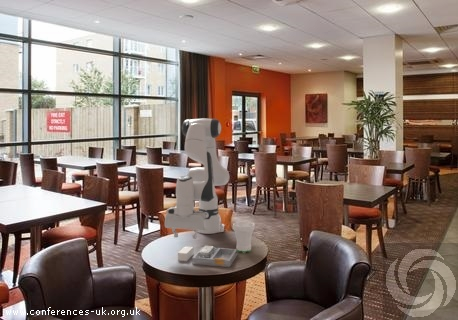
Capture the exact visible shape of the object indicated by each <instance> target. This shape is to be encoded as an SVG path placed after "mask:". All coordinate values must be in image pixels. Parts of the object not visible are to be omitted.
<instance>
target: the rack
mask: <svg viewBox="0 0 458 320" xmlns="http://www.w3.org/2000/svg"><path fill="white" fill-rule="evenodd" d="M237 256H238V252H237V249H236V248H226V247H225V248H224V247H215V245H214V246H213V245H204V246H201V247H200V249H199V250H198V251H197V252H196V253H195V254H193V255H192V256H191V264H192V265H199V266H200V265H201V266H212V267H225V268H230V267H231V266H232V265H233V262H234V261H235V260H236V258H237Z"/></svg>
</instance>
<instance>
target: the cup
mask: <svg viewBox="0 0 458 320" xmlns="http://www.w3.org/2000/svg"><path fill="white" fill-rule="evenodd" d="M255 225H256V224H255V223H254V222H252V221H236V222H235V221H234V222H233V223H232V229H233V231H234V235H235V238H236V239H235V240H236V245H235V246H236V248H235V249H237V253H243V254H246V253H247V252H248V253H251V250H252V244H251V243H252V236H253V233H254V230H255V228H256V226H255Z"/></svg>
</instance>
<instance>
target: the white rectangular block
mask: <svg viewBox="0 0 458 320" xmlns="http://www.w3.org/2000/svg"><path fill="white" fill-rule="evenodd" d="M193 256H194V246H184V247H182V249H180V250H179V251H178V252H177V261H178V262H180V261H181V262H188V261H189V259H190V258H192V257H193Z"/></svg>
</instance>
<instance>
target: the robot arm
mask: <svg viewBox="0 0 458 320" xmlns="http://www.w3.org/2000/svg"><path fill="white" fill-rule="evenodd" d="M181 132H182V135H184V137H185V140H184V141H185V142H184V152H185V154H186V156H187V157H188V158H190V159H191V160H192V161H195V162H198V163H200V164H201V165H203V166H202V167H201V166H195V167H191V168H190V169H189V170H188V172H187V175H182V176H179V177H178V178H177V179H176V186H175V197H176V202H175V206H171V207H169V208H167V209H166V214H165V216H164V227H165V228H166V229H171V231H172V233H173V237H174V238H178V237H179V233H178V232H177V231H176V230H177V229H179V230H193V231H194V232H195V233H193V234H192V235H191V236H192V239H197V234H198V233H199V234H207V235H208V234H210V235H211V234H217V233H222V232H224V231H225V224H224V223H222V218H221V215H220V213H219V212H220V211H219V210H220V208H219V206H218V195H217V193H216V187H217V186H219V187H220V186H224V185H227V184H228V182H229V181H230V173H229V170H228V169H227V168H225V167H224V166H223V165H222V164H221V163H220V161H219V159H218V156H217V146H216V138H218V137H219V136H220V135H221V132H222V125H221V122H220V120H219V119H217V118H208V117H207V118H205V117H204V118H203V117H202V118H192V119H191V118H188V119H185V120H184V121H183V123H182V125H181ZM195 201H198V202H199V203H198V204H199V205H198V206H199V207H198V210H196V209H195Z"/></svg>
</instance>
